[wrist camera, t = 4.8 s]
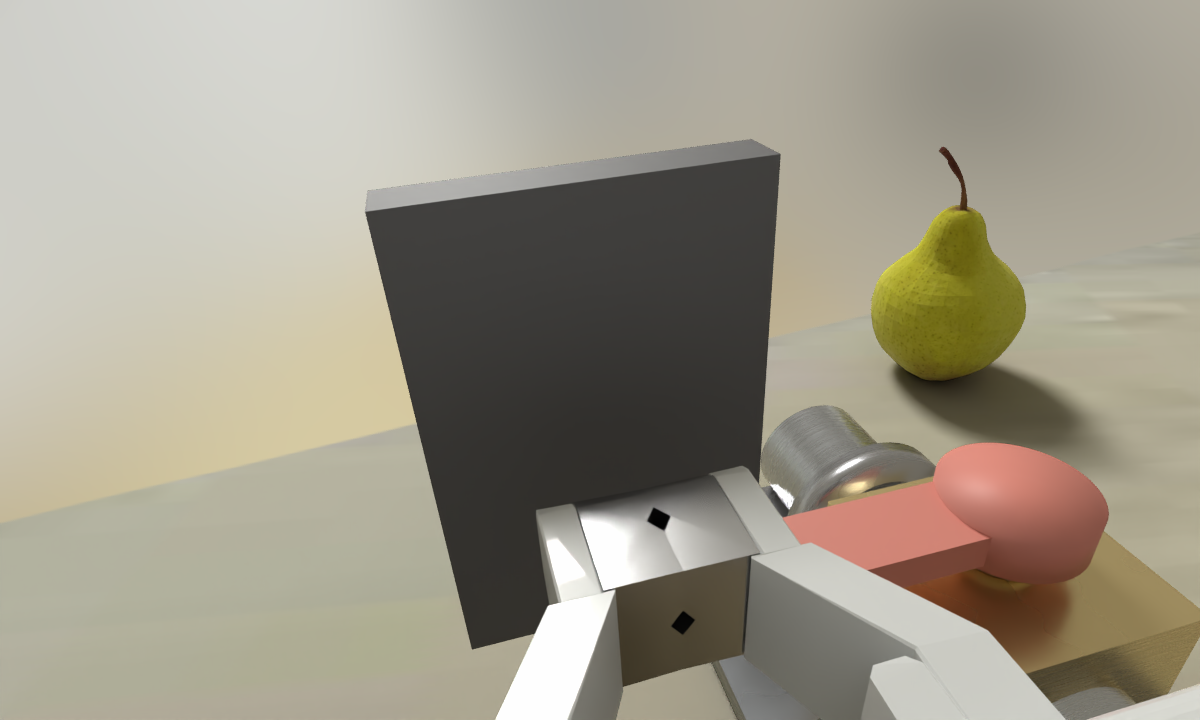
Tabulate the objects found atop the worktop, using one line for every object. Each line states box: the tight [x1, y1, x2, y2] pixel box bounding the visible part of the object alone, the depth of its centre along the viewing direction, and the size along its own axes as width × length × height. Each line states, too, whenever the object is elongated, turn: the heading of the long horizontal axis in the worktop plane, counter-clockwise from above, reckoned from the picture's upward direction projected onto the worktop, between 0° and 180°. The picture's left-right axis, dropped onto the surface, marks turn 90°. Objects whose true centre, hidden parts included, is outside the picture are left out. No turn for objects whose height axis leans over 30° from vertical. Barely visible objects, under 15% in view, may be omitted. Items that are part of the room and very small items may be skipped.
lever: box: [365, 139, 1109, 649], centre depth 14 cm, size 15×4×10 cm, turn 104°
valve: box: [712, 405, 1200, 720], centre depth 19 cm, size 12×18×8 cm, turn 14°
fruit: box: [871, 147, 1026, 381], centre depth 35 cm, size 7×7×12 cm
